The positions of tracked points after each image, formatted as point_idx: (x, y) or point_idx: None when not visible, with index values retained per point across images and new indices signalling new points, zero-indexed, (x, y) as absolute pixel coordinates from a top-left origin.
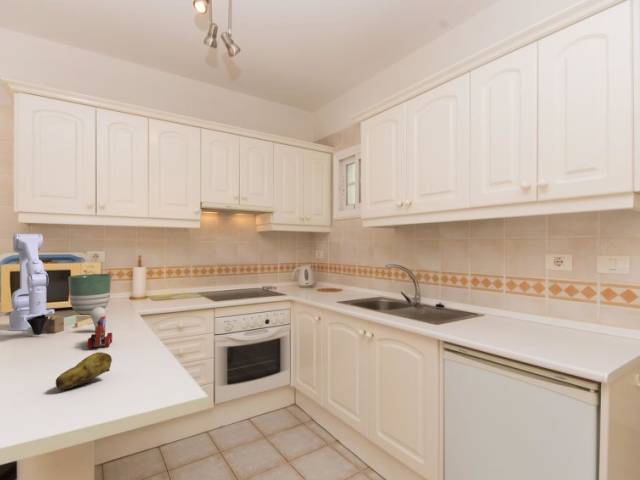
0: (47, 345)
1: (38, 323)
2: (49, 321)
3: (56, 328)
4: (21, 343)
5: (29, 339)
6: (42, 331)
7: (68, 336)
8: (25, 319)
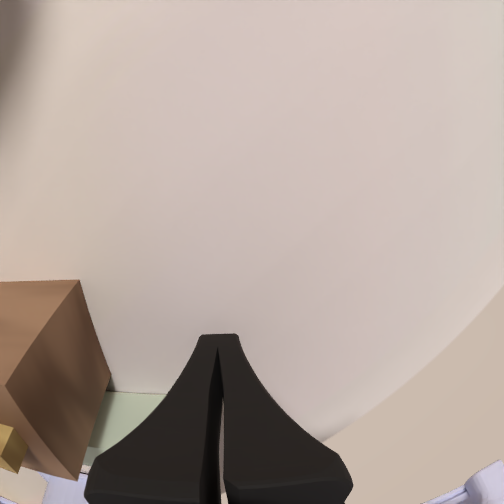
0: (476, 10)
1: (296, 428)
2: (49, 425)
3: (38, 306)
4: (430, 283)
5: (310, 334)
6: (103, 400)
7: (164, 2)
8: (493, 480)
